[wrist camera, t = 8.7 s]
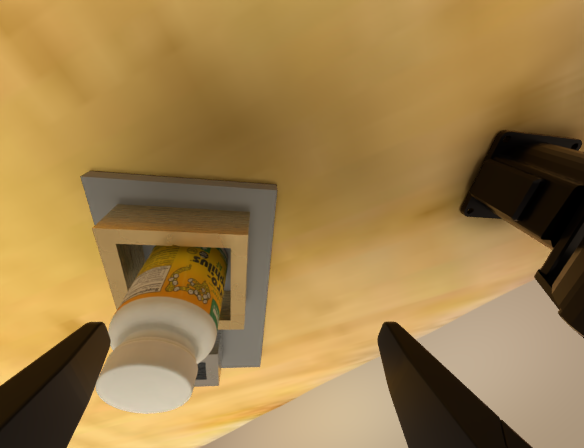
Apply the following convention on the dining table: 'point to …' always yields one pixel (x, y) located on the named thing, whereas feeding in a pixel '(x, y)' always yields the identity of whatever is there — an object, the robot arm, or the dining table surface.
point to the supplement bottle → (164, 329)
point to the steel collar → (211, 364)
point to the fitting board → (232, 197)
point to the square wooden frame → (174, 232)
